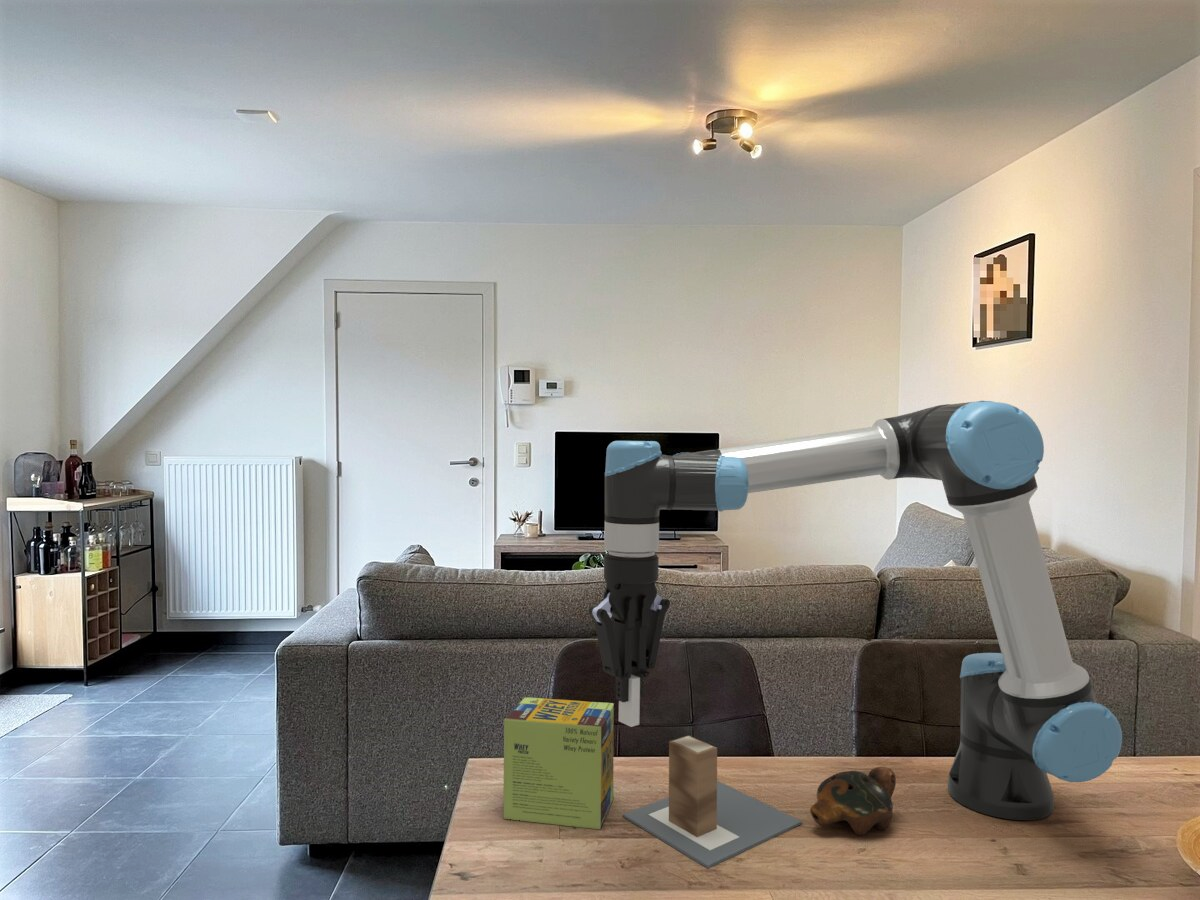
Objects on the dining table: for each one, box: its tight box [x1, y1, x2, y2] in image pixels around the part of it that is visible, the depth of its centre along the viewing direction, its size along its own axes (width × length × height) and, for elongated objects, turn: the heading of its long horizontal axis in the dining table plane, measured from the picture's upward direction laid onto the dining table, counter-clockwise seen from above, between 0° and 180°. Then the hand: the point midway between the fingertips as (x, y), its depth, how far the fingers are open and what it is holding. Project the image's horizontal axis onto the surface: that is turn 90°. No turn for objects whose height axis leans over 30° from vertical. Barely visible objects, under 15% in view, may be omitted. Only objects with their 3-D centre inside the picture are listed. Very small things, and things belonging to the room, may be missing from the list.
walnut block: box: [668, 735, 718, 837], centre depth 117 cm, size 6×4×12 cm, turn 38°
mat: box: [622, 780, 803, 869], centre depth 119 cm, size 18×20×1 cm
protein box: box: [502, 697, 615, 830], centre depth 123 cm, size 10×15×16 cm
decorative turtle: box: [809, 766, 897, 837], centre depth 118 cm, size 10×15×8 cm, turn 119°
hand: (628, 722), depth 109 cm, fingers closed
